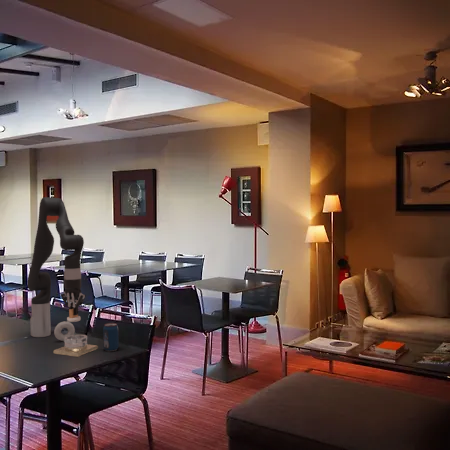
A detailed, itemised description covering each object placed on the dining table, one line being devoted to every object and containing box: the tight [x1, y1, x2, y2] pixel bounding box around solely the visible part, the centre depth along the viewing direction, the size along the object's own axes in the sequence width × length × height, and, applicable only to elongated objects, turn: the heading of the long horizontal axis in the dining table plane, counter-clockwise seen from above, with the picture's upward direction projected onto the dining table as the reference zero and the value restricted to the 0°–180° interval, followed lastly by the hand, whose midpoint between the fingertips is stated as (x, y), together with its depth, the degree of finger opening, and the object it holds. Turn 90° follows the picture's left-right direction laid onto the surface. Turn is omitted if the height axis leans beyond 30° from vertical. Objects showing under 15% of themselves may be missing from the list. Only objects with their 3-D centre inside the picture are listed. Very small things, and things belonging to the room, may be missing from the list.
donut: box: [53, 320, 76, 342], centre depth 257 cm, size 10×4×10 cm, turn 113°
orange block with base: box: [66, 308, 81, 323], centre depth 237 cm, size 6×6×6 cm
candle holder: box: [53, 334, 99, 358], centre depth 238 cm, size 14×14×6 cm
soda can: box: [102, 322, 120, 352], centre depth 240 cm, size 7×7×12 cm
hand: (73, 314), depth 237 cm, fingers closed on orange block with base, 1 cm apart
